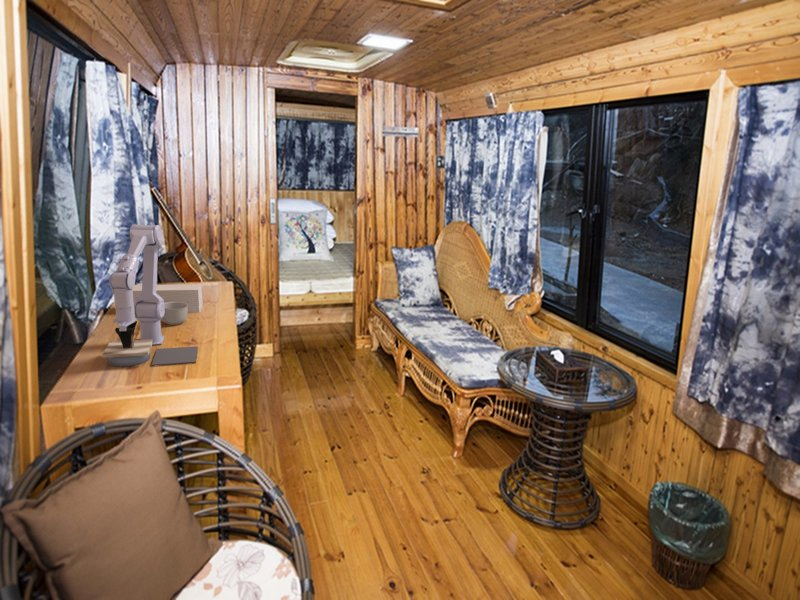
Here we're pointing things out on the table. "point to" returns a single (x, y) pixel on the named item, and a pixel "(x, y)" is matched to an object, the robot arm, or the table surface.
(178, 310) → the teacup
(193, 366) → the table surface
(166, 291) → the pale grey long block
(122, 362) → the bowl
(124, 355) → the lid
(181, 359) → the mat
